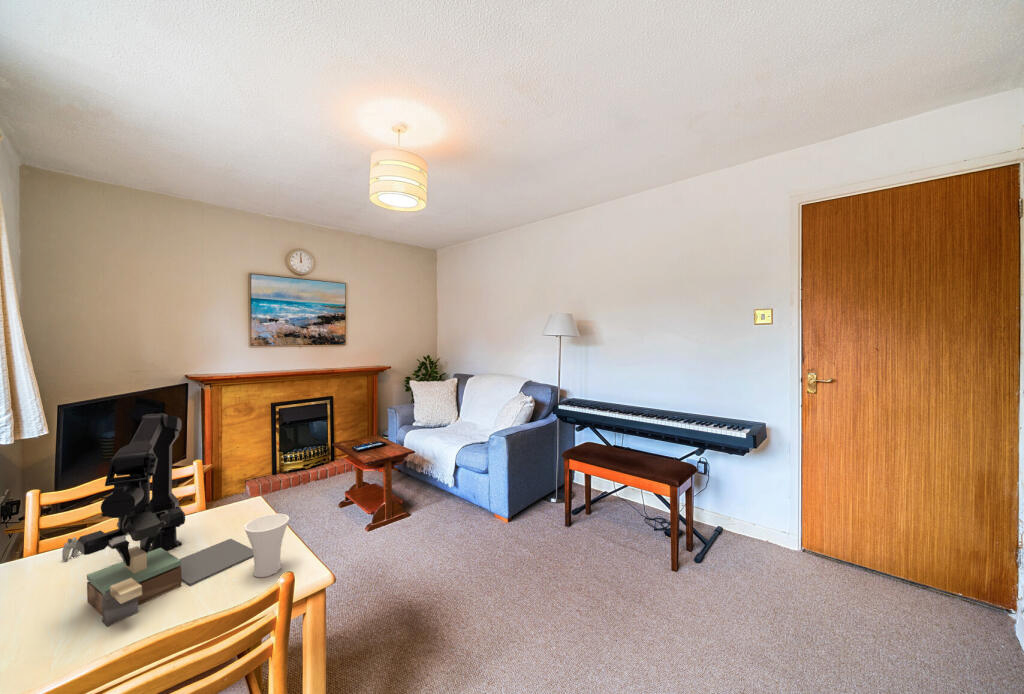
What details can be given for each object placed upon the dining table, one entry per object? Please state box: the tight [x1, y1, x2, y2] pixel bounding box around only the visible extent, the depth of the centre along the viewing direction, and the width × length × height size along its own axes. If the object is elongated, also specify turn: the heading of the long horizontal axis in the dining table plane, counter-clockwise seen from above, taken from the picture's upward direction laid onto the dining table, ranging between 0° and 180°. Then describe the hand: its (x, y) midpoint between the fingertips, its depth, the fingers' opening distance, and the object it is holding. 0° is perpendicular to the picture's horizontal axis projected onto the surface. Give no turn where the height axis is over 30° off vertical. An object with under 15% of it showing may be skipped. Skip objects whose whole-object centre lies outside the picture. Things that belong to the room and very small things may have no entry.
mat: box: [179, 538, 254, 587], centre depth 112 cm, size 16×17×1 cm
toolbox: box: [86, 566, 183, 627], centre depth 96 cm, size 15×15×6 cm
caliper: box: [61, 536, 80, 562], centre depth 121 cm, size 20×1×6 cm, turn 171°
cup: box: [243, 513, 290, 578], centre depth 108 cm, size 10×10×14 cm
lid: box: [86, 545, 181, 595], centre depth 97 cm, size 12×14×5 cm
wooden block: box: [110, 578, 142, 604], centre depth 88 cm, size 6×4×2 cm, turn 61°
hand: (135, 563), depth 97 cm, fingers closed on lid, 2 cm apart
